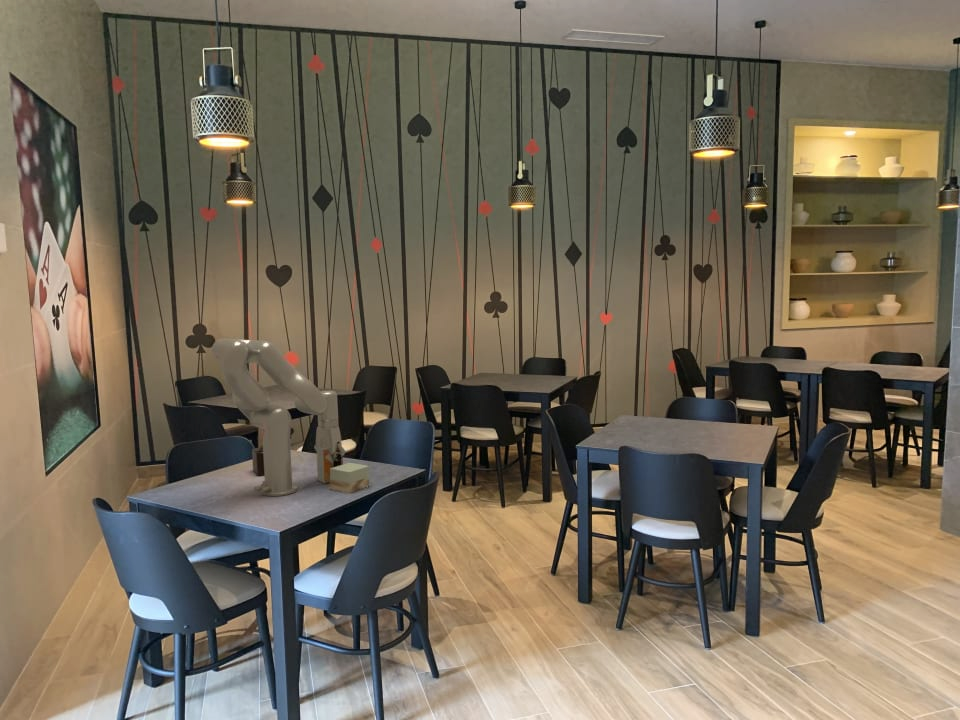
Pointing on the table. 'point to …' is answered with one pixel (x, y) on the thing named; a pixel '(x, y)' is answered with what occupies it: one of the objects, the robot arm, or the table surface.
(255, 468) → the manual coffee grinder
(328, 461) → the small box
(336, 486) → the tower base block
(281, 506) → the table surface
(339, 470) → the tower top block
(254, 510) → the table surface
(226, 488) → the table surface
